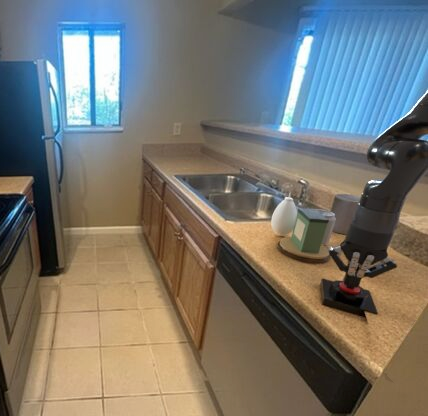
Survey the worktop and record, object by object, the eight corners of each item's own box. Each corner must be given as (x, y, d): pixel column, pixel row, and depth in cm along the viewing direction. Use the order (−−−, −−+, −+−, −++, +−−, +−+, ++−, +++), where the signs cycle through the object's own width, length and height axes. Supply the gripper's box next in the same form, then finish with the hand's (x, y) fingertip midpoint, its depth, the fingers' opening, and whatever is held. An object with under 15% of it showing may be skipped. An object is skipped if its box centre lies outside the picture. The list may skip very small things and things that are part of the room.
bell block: (366, 297, 73) (371, 284, 71) (374, 320, 65) (380, 307, 64) (319, 284, 78) (323, 272, 77) (322, 305, 70) (326, 292, 69)
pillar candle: (321, 223, 116) (330, 190, 110) (348, 225, 113) (359, 191, 108) (332, 233, 107) (344, 197, 102) (362, 236, 105) (375, 199, 99)
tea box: (317, 240, 99) (326, 207, 94) (338, 261, 86) (350, 224, 82) (274, 237, 102) (281, 205, 98) (287, 256, 90) (297, 220, 85)
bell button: (356, 291, 71) (359, 285, 70) (359, 299, 68) (361, 294, 67) (337, 285, 73) (339, 280, 73) (338, 294, 70) (340, 288, 69)
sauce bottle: (284, 230, 110) (294, 188, 104) (296, 239, 103) (308, 194, 97) (264, 230, 111) (273, 188, 104) (275, 239, 103) (286, 194, 97)
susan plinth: (327, 248, 97) (328, 244, 96) (331, 269, 85) (333, 264, 84) (278, 238, 104) (279, 234, 104) (275, 255, 93) (276, 251, 92)
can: (313, 236, 105) (321, 207, 101) (333, 245, 99) (343, 214, 94) (297, 239, 104) (305, 209, 99) (317, 248, 97) (326, 217, 93)
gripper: (407, 225, 63) (381, 287, 69) (334, 214, 70) (316, 271, 76) (418, 238, 57) (388, 304, 64) (337, 224, 64) (317, 285, 71)
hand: (349, 286), depth 70 cm, fingers closed
